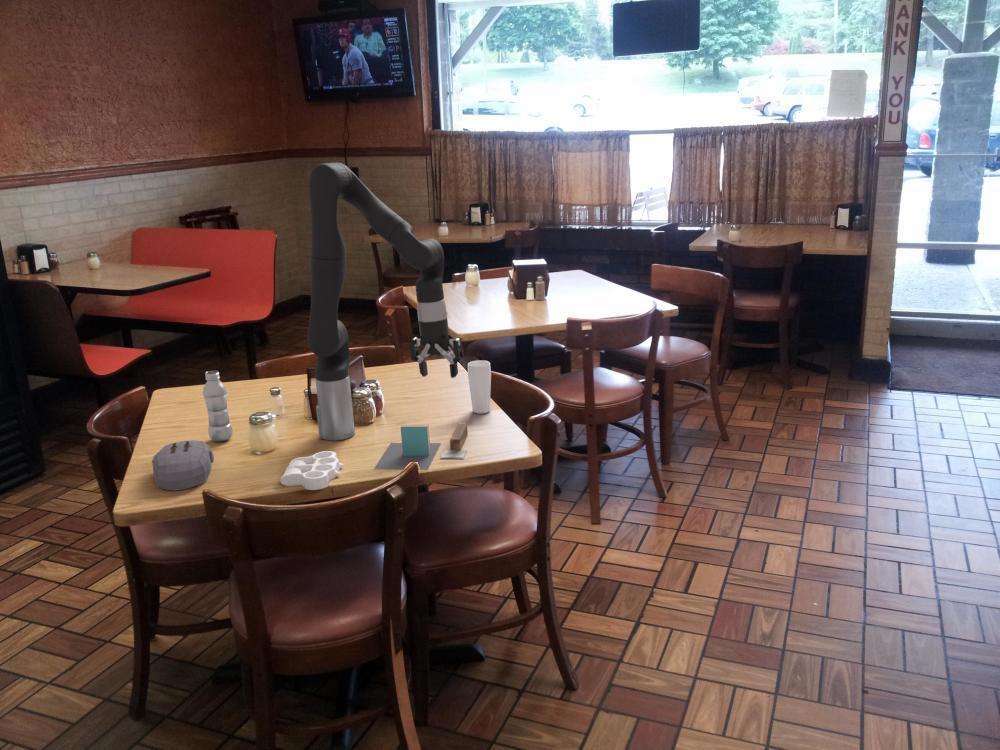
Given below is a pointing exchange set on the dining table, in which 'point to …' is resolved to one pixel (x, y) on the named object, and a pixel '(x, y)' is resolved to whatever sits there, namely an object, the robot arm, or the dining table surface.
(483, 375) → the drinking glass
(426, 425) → the tile
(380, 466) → the mat
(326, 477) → the white compartment holder
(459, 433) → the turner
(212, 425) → the plastic bottle
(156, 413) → the dining table surface
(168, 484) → the grey rounded bag
